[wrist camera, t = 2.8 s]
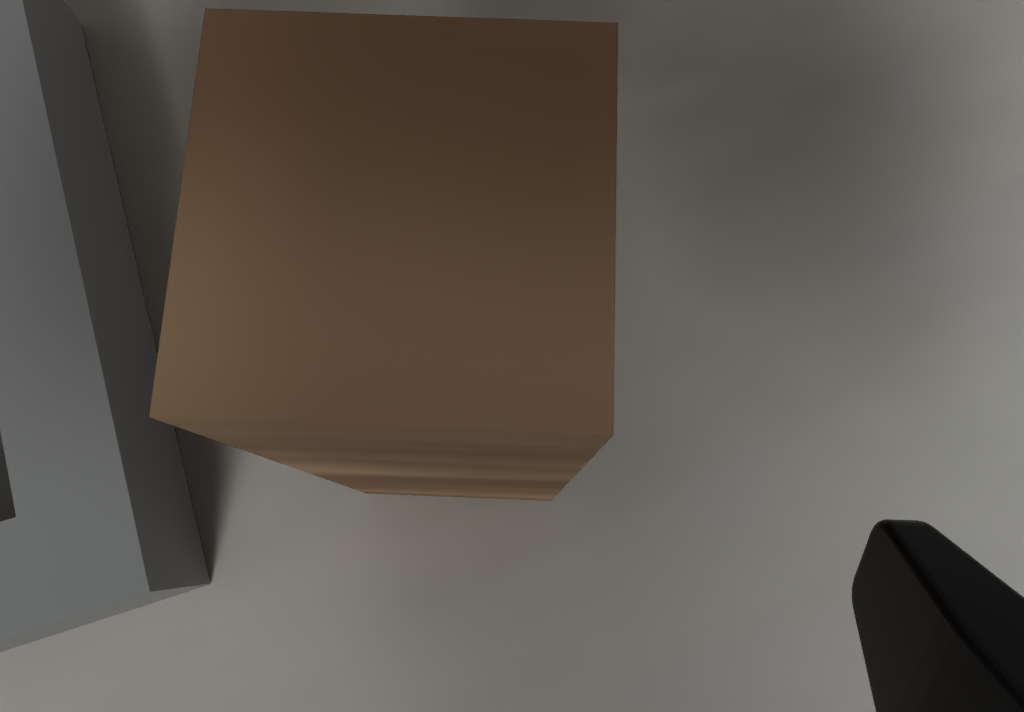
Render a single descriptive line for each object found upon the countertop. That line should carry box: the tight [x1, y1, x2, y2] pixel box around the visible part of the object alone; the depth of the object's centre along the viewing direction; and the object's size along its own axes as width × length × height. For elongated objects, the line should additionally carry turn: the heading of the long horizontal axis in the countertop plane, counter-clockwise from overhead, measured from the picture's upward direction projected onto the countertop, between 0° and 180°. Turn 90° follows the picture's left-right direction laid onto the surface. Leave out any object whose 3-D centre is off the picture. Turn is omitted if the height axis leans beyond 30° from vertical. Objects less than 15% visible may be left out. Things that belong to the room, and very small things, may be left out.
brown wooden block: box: [149, 8, 618, 500], centre depth 13 cm, size 4×4×11 cm
